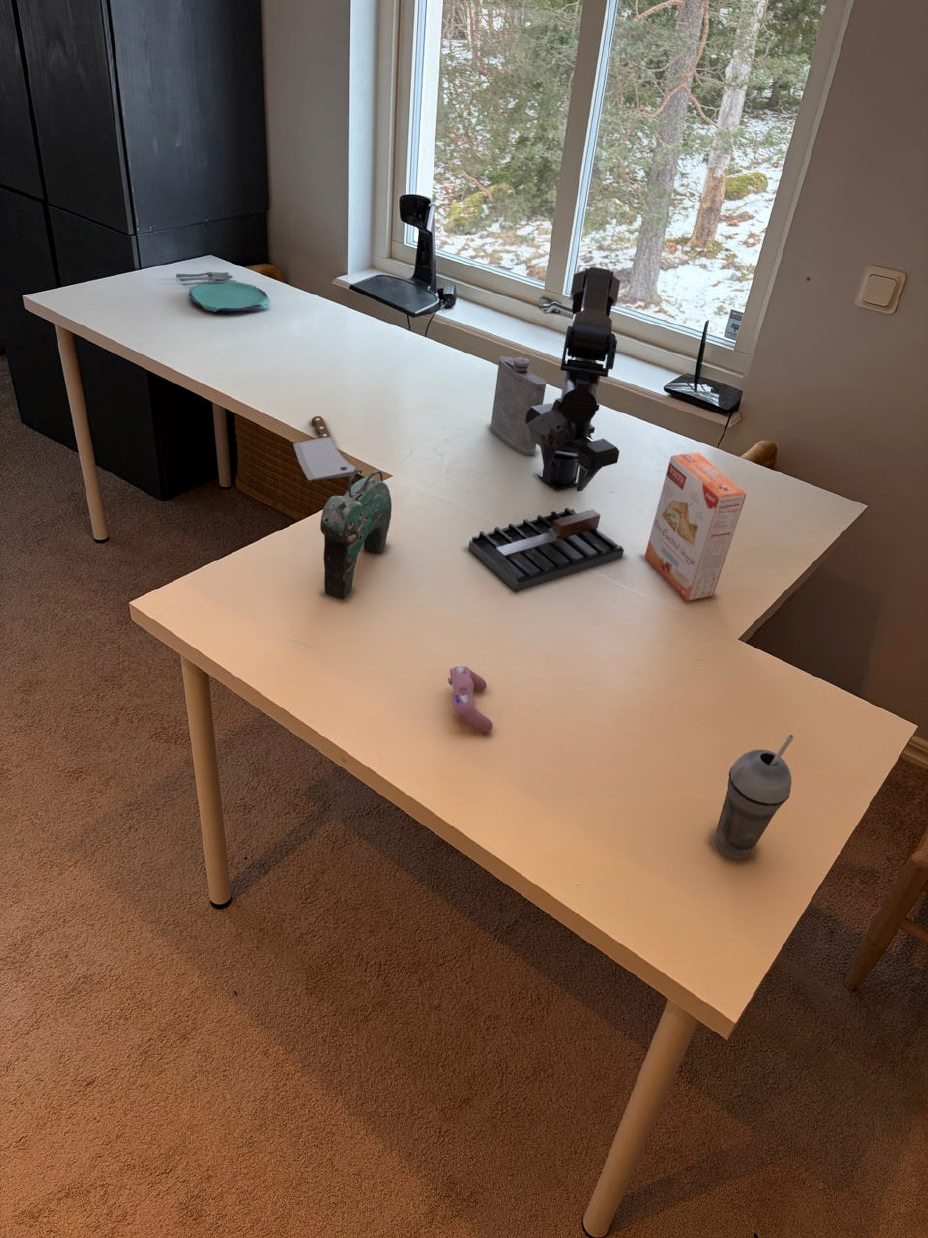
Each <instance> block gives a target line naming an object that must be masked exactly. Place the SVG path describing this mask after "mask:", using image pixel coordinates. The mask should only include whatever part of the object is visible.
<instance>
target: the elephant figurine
mask: <svg viewBox="0 0 928 1238" xmlns="http://www.w3.org/2000/svg"><path fill="white" fill-rule="evenodd" d="M358 473H359V474H360V475H361V474H362V473H363V469H360V468H357V469H355V471H354V472H353V473H352V475H351V476H349V479H348V487H347V491H346V492H345V494H344V495H333V496H331V497H329V498H328V500H327V501H326V503H325V504H324V507H323V508H322V509H323V510H322V513H321V516H320V522H319V523H320V527H319V529H320V533H321V534H322V535H324V537H323V538H324V542H323V543H324V545H323V548H324V549H323V566H324V573H323V574H324V575H323V576H324V577H323V578H324V580H323V583H324V594H325V595H329V596H331V597H333V598H337V599H341V600H345V599H346V598H347V596H348V595H349V594H350V593H351V592H352V587H353V581H354V576H355V575H354V574H355V569H356V565H357V562H358V557H359V554H360V551H361V549H362V548H363V551H366V552H370V553H372V554H381V553H382V552H383V551H384V550H385V548H386V544H387V537H388V533H389V528H390V525H391V519H392V508H393V507H392V506H393V504H392V496H391V493H390V492H391V491H390V489H389V486H388V485H387V484H386V482H384V479H383V472H382V470H379V469H377V470H374V471H373V472H371V473H370V474H369V475H368V476H367V477H363V478H360V479H359V480H358V481H356V482H355V483H354V484H352V482H353V480H354V478H355V476H356V474H358ZM377 474H379V476H380V477H379V479H376V478H373V476H376V475H377ZM351 484H352V485H351Z"/></svg>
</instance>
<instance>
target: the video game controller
mask: <svg viewBox="0 0 928 1238" xmlns="http://www.w3.org/2000/svg"><path fill="white" fill-rule="evenodd" d="M449 675H450V677H448V678H447V682H448V684H449V686H451V687H452V691H453V697H452V699H451V701H452V706H453V710H454V713H455V715H456V717H457V720H458V721H460V722H462V723H464V724H465V725H467V726H468V727H469V728H471V729H473V730H475V731H477V732H481V733H489V732H490V731H491V730H492V729H493V726H494V725H493V722H492V721H491V719H490V718H489V717H488V716H485V715H484V714H483V713H482V712H481V711H480V710H478V709H477V708H476V706H475V699H474V691H475V692H483V691H485V690H486V689H487V685H488V684H487V681H486V680H485V679H484V678H483V677H482V676H481V675H479V674H477V673H475V672H474V671H472V669H470V668H469V667H468V666H464V665H463V666H455V667H452V668H450V669H449Z"/></svg>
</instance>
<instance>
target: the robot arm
mask: <svg viewBox="0 0 928 1238" xmlns="http://www.w3.org/2000/svg"><path fill="white" fill-rule="evenodd" d="M620 286H621V280H620V279H619V278H617V277H616V276H615V275H614V271H612V270H611V269H608V268H602V267H595V266H588V267H584V270H583V271H579V272H576V273H574V274H573V277H572V283H571V288H570V289H571V290H570V295H569V301H572V305H571V312H572V315H573V318H572V324H571V325H567V328H566V334H565V338H564V346H563V351H562V356H561V361H560V369H559V370H560V371H563V372H564V379H563V383H562V390H561V395H560V397H558V398H555V399H554V401H553V403H552V402H548V403H543V405H539V406H534V407H531V408H530V409H529V410H528V411H527V413H526V419H525V423H527V424H528V428H529V434H530V440H531V441H532V442H535V443H536V445H538V446H539V447H540V452H541V459H542V464H543V468H542V472H538V474H537V477H539V478H540V479H541V480H542V481H544V483H547V484H548V485H549V486H550V487H551V488H553V489H554V490H556V491H561V490H564V489H569V488H571V487H572V488H573V487H575V486H576V492H578V493H580V492H583V491H584V489H585V488H586V487H587V486H588V484H589V483H590V482H591V481H592V479H594V477H595V476H596V474H597V473H598V472H599V471H600V470H601V469H602V468H605V467H608V466H611V465H615V464H618V460H619V456H620V449H618V447H617V446H615V444H612V443H611V442H610V441H608V440H606V439H605V438H600V439H596V440H594V439H593V438H592V434H595V429H596V427H595V426H594V425H592V424H591V423H592V419H593V418H594V416H595V415H596V413H597V412H599V411H600V404H599V403H598V401H599V400H598V399H599V384H600V380H601V377H602V378H608V377H609V371H610V370H613V368H614V364H615V358H616V351H617V345H618V340H617V338H616V337H617V334H616V333H615V332H613V331H612V327H613V320H612V319H611V317H610V315H611V310H612V307H613V308H615V307H616V305H617V303H618V298H619V297H618V296H619V290H620ZM567 356H568V357H571V358H567V361H566V357H567ZM597 361H598V362H605V367H604V364H603V363H598V362H597Z"/></svg>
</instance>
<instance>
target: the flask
mask: <svg viewBox="0 0 928 1238" xmlns="http://www.w3.org/2000/svg"><path fill="white" fill-rule="evenodd" d="M529 366H530V360H529V359H528V358H526V357H521V356H517V357H515V358H513V357H511V356H505V355H504V356H503V355H502V356H500V357H499V359H498V365H497V374H496V382H495V388H494V389H495V390H494V396H493V405H492V412H491V419H490V430H491V431H492V432H493V433H494V435H496V436H497V437H498V438H499V439H500V440H501V441H503V442H504V443H505V444H507V445H508V446H510V447H511V448H513V449H515V450H516V451H517V452H520V453H521V454H523V455H526V456H533V455H535V454H536V448H537V444H536V443H535V442H532V441H531V440H530V434H529V428H528V424H527V423H525V419H526V413H527V411H528V410H529V409H530V408H531V407H534V406H539V405H543V404H544V402H545V401H544V400H545V394H546V389H547V383H548V382H547V380H545V379H544V378H542V377H540V376H538V375H536V374H534V373H532V372H530V371H529V370H528V369H529V368H528V367H529Z"/></svg>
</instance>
